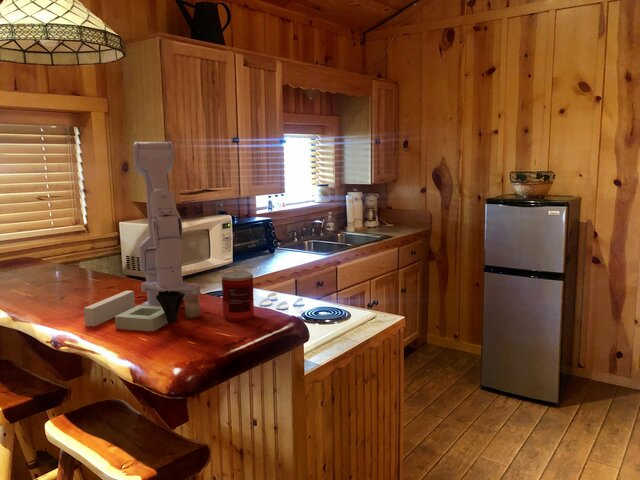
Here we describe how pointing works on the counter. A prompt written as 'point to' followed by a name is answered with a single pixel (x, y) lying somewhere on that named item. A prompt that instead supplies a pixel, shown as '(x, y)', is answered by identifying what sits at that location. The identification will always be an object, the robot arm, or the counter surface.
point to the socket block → (141, 318)
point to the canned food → (237, 296)
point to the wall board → (108, 308)
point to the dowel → (191, 305)
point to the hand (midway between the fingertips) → (172, 321)
